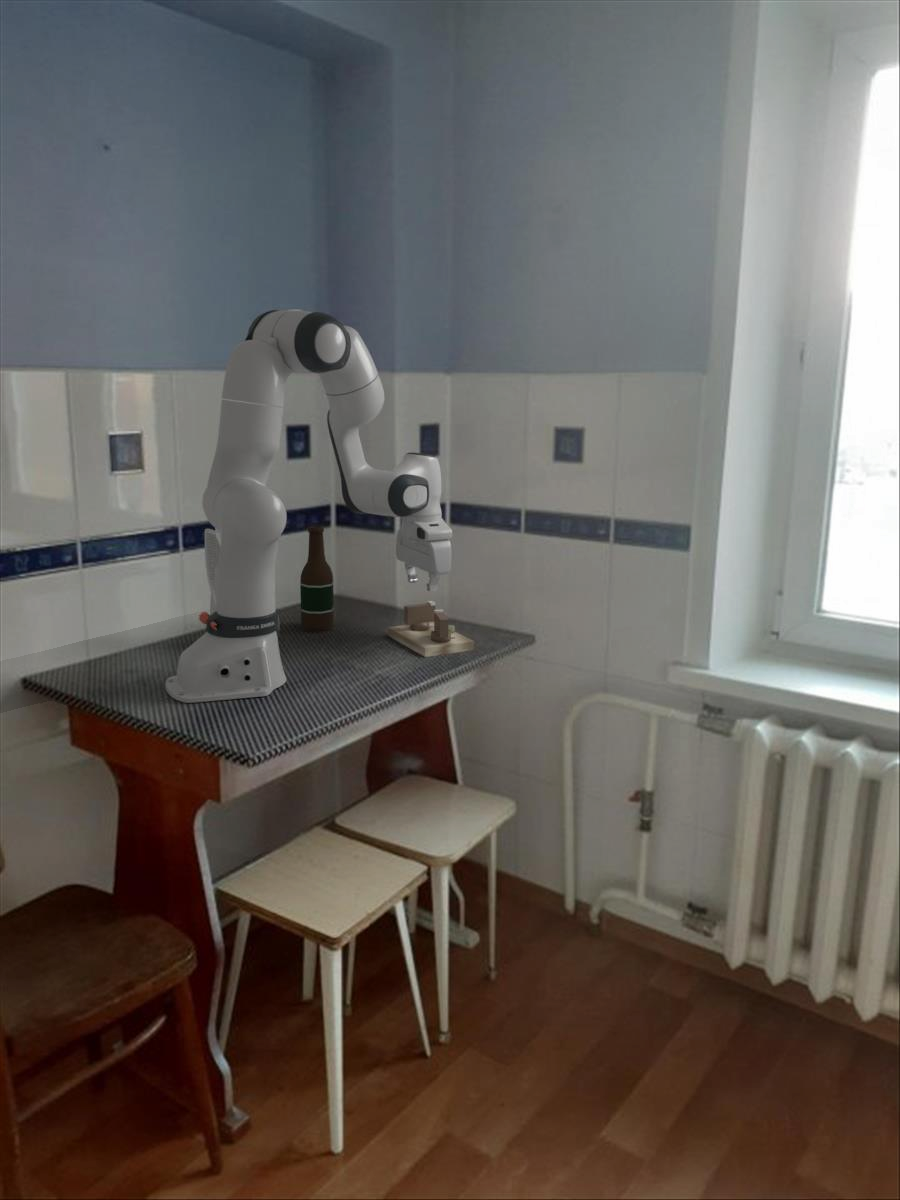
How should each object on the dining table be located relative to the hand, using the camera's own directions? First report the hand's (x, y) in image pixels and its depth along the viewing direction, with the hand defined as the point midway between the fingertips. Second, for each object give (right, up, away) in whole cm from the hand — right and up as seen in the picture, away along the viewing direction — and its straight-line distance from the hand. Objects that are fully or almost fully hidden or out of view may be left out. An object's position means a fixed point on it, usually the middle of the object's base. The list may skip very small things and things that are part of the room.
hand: (422, 586), depth 209 cm
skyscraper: (-42, -13, -7) cm, 45 cm away
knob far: (-1, -9, +2) cm, 10 cm away
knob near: (+4, -12, -6) cm, 14 cm away
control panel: (+2, -12, -2) cm, 13 cm away
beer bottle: (-25, -10, +8) cm, 28 cm away
